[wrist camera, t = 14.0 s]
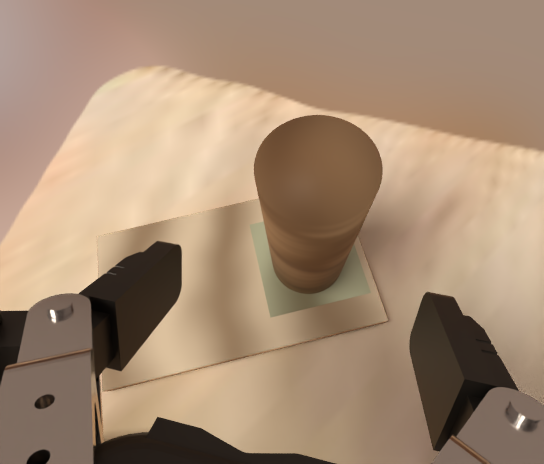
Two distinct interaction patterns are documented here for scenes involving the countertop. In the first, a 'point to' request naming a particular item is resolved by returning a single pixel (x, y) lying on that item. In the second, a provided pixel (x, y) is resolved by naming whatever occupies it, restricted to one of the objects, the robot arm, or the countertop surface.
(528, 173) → the countertop surface
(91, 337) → the robot arm
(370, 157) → the walnut roller
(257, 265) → the birch board
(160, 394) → the countertop surface
